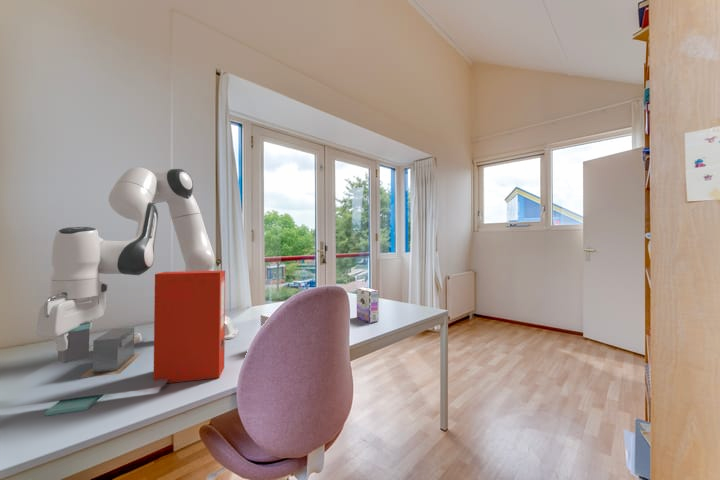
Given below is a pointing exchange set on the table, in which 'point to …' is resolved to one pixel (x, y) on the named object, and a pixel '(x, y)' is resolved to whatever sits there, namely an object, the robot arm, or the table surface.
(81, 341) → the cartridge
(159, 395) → the table surface
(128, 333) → the panel
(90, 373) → the board
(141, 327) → the table surface
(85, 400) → the pad
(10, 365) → the table surface
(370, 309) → the candy box
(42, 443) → the table surface
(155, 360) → the file binder
